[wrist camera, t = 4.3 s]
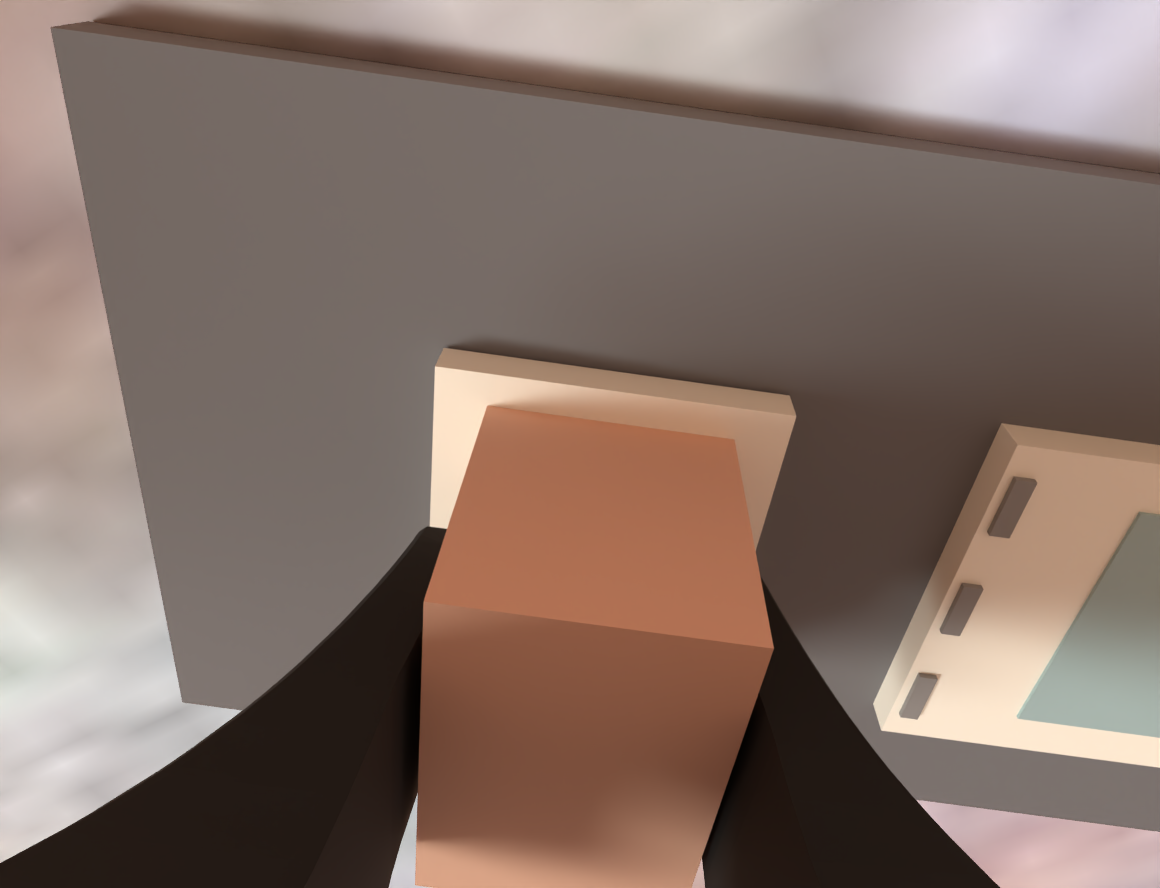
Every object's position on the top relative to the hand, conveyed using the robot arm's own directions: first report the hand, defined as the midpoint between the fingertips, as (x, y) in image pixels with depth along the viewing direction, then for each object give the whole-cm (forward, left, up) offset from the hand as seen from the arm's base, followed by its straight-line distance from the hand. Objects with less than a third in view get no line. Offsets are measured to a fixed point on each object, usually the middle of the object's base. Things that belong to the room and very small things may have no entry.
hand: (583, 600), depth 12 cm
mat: (-4, -1, -2) cm, 5 cm away
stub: (0, 0, -2) cm, 2 cm away
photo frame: (-10, 0, -2) cm, 10 cm away
